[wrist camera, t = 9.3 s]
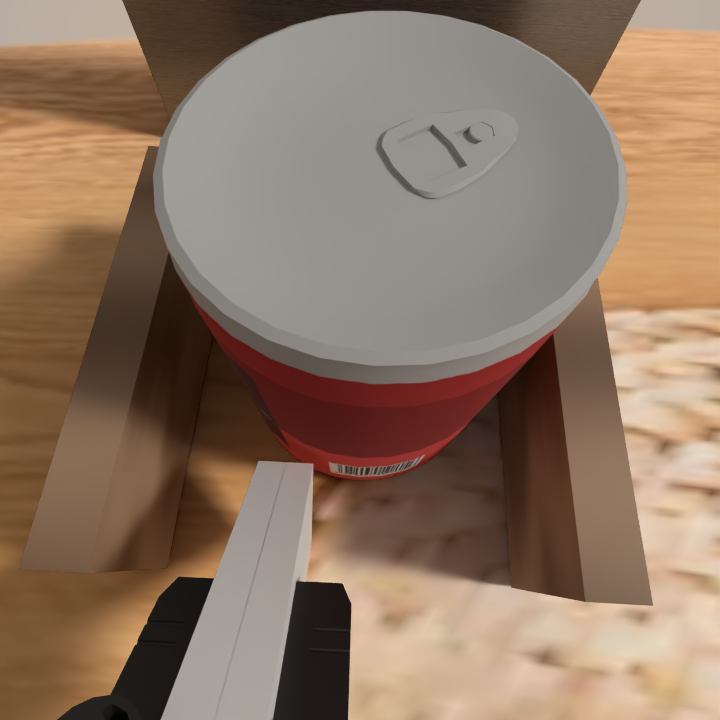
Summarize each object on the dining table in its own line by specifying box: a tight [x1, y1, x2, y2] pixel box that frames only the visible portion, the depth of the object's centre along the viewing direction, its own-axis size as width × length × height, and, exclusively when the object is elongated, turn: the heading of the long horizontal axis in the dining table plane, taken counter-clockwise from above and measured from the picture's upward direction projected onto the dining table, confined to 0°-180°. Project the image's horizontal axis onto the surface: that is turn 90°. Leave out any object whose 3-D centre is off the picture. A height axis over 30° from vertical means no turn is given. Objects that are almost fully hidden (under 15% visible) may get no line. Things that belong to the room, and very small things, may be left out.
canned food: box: [153, 11, 627, 480], centre depth 13 cm, size 8×8×11 cm
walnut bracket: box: [19, 146, 653, 606], centre depth 15 cm, size 12×14×5 cm
